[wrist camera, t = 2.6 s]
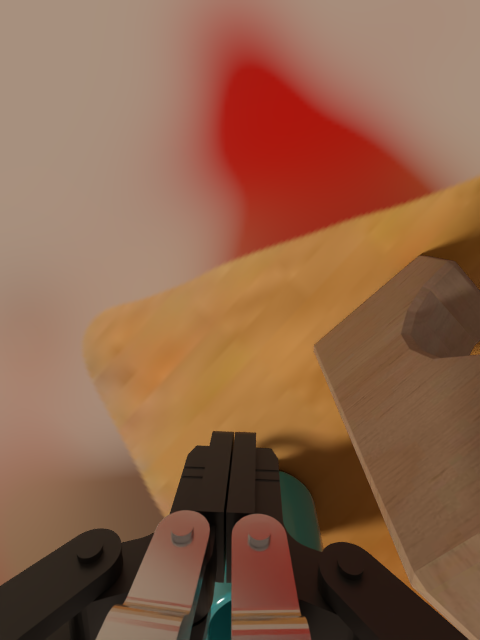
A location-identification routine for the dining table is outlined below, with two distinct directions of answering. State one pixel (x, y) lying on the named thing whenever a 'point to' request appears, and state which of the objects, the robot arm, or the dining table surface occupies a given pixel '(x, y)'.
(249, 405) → the dining table surface
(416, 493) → the decorative block
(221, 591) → the cup
